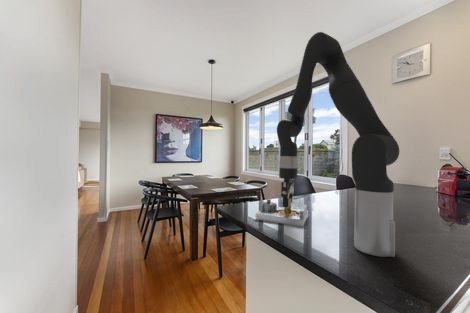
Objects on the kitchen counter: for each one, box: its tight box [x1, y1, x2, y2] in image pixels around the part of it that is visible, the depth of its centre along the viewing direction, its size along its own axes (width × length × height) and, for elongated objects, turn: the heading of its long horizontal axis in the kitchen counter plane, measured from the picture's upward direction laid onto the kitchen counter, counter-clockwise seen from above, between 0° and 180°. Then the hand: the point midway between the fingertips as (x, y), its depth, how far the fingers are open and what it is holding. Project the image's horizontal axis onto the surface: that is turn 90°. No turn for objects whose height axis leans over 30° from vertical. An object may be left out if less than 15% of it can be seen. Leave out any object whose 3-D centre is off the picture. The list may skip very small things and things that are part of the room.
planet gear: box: [278, 198, 297, 216], centre depth 89 cm, size 8×8×8 cm
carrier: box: [255, 198, 309, 228], centre depth 90 cm, size 19×16×7 cm
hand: (287, 205), depth 89 cm, fingers open, 8 cm apart
